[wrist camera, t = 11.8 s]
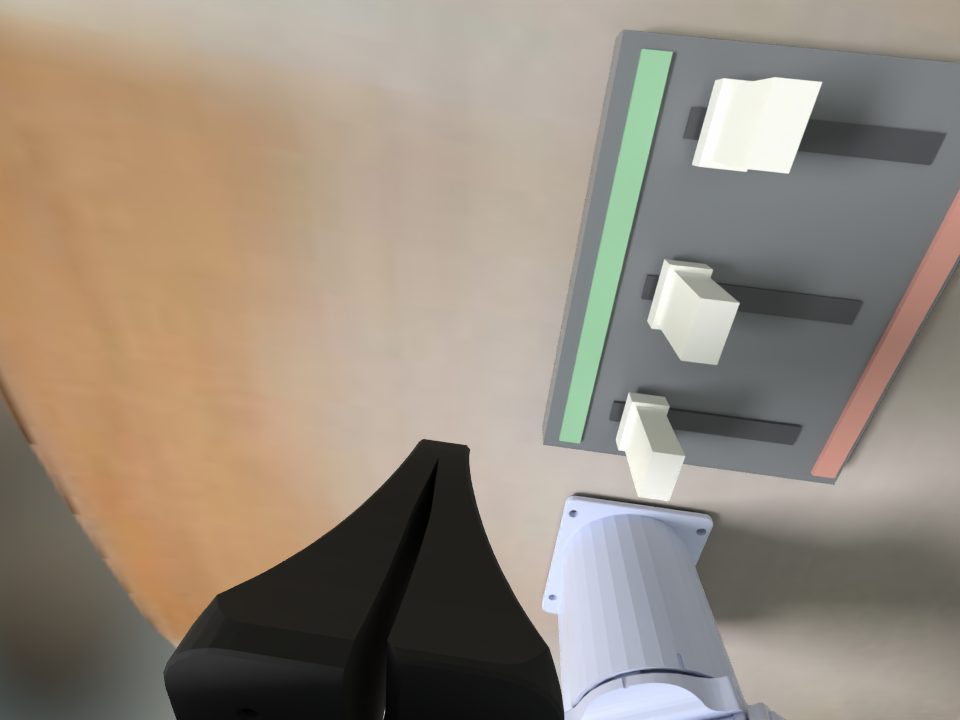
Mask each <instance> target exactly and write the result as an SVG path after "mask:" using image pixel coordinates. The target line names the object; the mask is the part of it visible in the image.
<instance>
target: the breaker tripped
mask: <svg viewBox="0 0 960 720" xmlns="http://www.w3.org/2000/svg"><path fill="white" fill-rule="evenodd" d="M712 272H713V269H712V268H710V267H709V266H708V265H707V264H702V263H693V262H685V261H676V260H668V259H664V262H663V265H662V269H661V273H660V276H659V280H658V284H657V287H656V291H655V294H654V298H653V302H652V305H651V309H650V313H649V316H648V320H647V322H648V324H649V325H650V327H651V329H659V330H662V332H663V333H664V335H665V337H666V338H667V340H668V341H669V343H670V344H671V346H672V348H673V349H674V351H675V352H676V354H677V355H678V357H679V359H680V360H681V361H688V362H696V363H704V364H712V365H717V364H718V361H719V359H720V356H721V353H722V350H723V348H724V345H725V342H726V339H727V337H728V334H729V331H730V328H731V326H732V323H733V320H734V317H735V315H736V312H737V309H738V306H739V304H740V303H739V302H738V301H737V300H736V299H734V298H733V297H732V296H731V295H730V294H729V293H727V292H726V291H725V290H724V289H723V288H722V287H720V286H719V285H718V284H717V283H716V282H715V281H713V280H712V279H711V275H712Z"/></svg>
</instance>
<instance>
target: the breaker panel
mask: <svg viewBox="0 0 960 720" xmlns="http://www.w3.org/2000/svg"><path fill="white" fill-rule="evenodd" d="M773 77H778V78H788V79H798V80H808V81H817V82H822V85H821V87H820V90H819V93H818V95H817V98H816V101H815V104H814V106H813V109H812V112H811V115H810V117H809V120H808V123H807V126H806V128H805V131H804V134H803V136H802V139H801V142H800V145H799V147H798V150H797V153H796V156H795V158H794V161H793V164H792V166H791V169H790V172H789V174H787V173H778V172H769V171H760V170H751V169H748V170H747V172H742V171H733V170H724V169H715V168H706V167H698V166H694V165H692V162H693V159H694V155H695V151H696V148H697V144H698V141H699V137H700V133H701V130H702V126H703V123H704V119H705V115H706V112H707V108H708V105H709V101H710V97H711V94H712V90H713V87H714V83H715V80H719V79H723V78H727V79H736V80H746V81H757V80H763V79H768V78H773ZM664 259H668V260H676V261H685V262H693V263H702V264H707V265H708V266H709V267H710V268H712V269H713V272H712V275H711V279H712V280H713V281H715V282H716V283H717V284H718V285H719V286H720V287H722V288H723V289H724V290H725V291H726V292H727V293H729V294H730V295H731V296H732V297H733V298H734V299H736V300H737V301H738V302H739V303H740V304H739V306H738V309H737V312H736V315H735V317H734V320H733V323H732V326H731V328H730V331H729V334H728V337H727V339H726V342H725V345H724V348H723V350H722V353H721V356H720V359H719V361H718V364H717V365H712V364H704V363H696V362H688V361H681V360H680V359H679V357H678V355H677V354H676V352H675V351H674V349H673V348H672V346H671V344H670V343H669V341H668V340H667V338H666V337H665V335H664V333H663V332H662V330H659V329H651V327H650V325H649V324H648V322H647V320H648V316H649V313H650V309H651V305H652V302H653V298H654V294H655V291H656V287H657V284H658V280H659V276H660V273H661V269H662V265H663V262H664ZM959 262H960V63H953V62H943V61H933V60H923V59H913V58H903V57H893V56H883V55H873V54H863V53H853V52H843V51H833V50H823V49H813V48H803V47H793V46H782V45H772V44H762V43H752V42H742V41H732V40H722V39H712V38H702V37H692V36H682V35H672V34H662V33H652V32H642V31H632V30H623V31H622V32H621V33H620V34H619V35H618V36H617V37H616V42H615V47H614V53H613V58H612V63H611V69H610V74H609V79H608V84H607V90H606V95H605V100H604V105H603V111H602V116H601V121H600V127H599V132H598V137H597V142H596V148H595V153H594V158H593V164H592V169H591V174H590V179H589V185H588V190H587V195H586V201H585V206H584V211H583V216H582V222H581V227H580V232H579V237H578V243H577V248H576V253H575V259H574V264H573V269H572V274H571V280H570V285H569V290H568V296H567V301H566V306H565V311H564V317H563V322H562V327H561V332H560V338H559V343H558V348H557V354H556V359H555V364H554V369H553V375H552V380H551V385H550V391H549V396H548V401H547V406H546V412H545V417H544V422H543V445H550V446H557V447H564V448H571V449H579V450H586V451H593V452H600V453H608V454H615V455H622V456H626V453H625V451H621V450H618V447H617V443H616V436H617V433H618V429H619V425H620V422H621V418H622V415H623V411H624V407H625V404H626V400H627V397H628V393H629V392H631V393H639V394H647V395H654V396H662V397H665V398H666V400H667V402H668V404H669V406H670V407H669V410H668V413H667V418H668V420H669V422H670V424H671V426H672V429H673V431H674V433H675V435H676V437H677V439H678V441H679V444H680V446H681V448H682V450H683V452H684V454H685V459H684V461H683V464H688V465H695V466H702V467H710V468H717V469H724V470H731V471H739V472H746V473H753V474H760V475H768V476H775V477H782V478H790V479H797V480H804V481H811V482H819V483H826V484H833V485H834V484H835V482H836V480H837V478H838V477H839V475H840V473H841V471H842V470H843V468H844V466H845V464H846V462H847V461H848V459H849V457H850V455H851V454H852V452H853V450H854V448H855V446H856V445H857V443H858V441H859V439H860V438H861V436H862V434H863V432H864V430H865V429H866V427H867V425H868V423H869V422H870V420H871V418H872V416H873V414H874V413H875V411H876V409H877V407H878V406H879V404H880V402H881V400H882V398H883V397H884V395H885V393H886V391H887V390H888V388H889V386H890V384H891V382H892V381H893V379H894V377H895V375H896V374H897V372H898V370H899V368H900V366H901V365H902V363H903V361H904V359H905V358H906V356H907V354H908V352H909V350H910V349H911V347H912V345H913V343H914V342H915V340H916V338H917V336H918V334H919V333H920V331H921V329H922V327H923V326H924V324H925V322H926V320H927V318H928V317H929V315H930V313H931V311H932V310H933V308H934V306H935V304H936V302H937V301H938V299H939V297H940V295H941V294H942V292H943V290H944V288H945V286H946V285H947V283H948V281H949V279H950V278H951V276H952V274H953V272H954V270H955V269H956V267H957V265H958V263H959Z"/></svg>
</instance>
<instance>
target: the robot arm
mask: <svg viewBox="0 0 960 720" xmlns="http://www.w3.org/2000/svg"><path fill="white" fill-rule="evenodd" d="M469 454H470V449H469V448H468V447H467V445H461V444H454V443H447V442H440V441H433V440H426V439H423V440H421V441H420V442H419V443H418V444H417V446H416V447H415V448H414V450H413V451H412V452H411V453H410V455H409V456H408V457H407V458H406V460H405V461H404V462H403V463H402V464H401V466H400V467H399V468H398V469H397V470H396V471H395V472H394V473H393V474H392V476H391V477H390V478H389V479H388V480H387V481H386V482H385V483H384V484H383V485H382V486H381V487H380V488H379V489H378V490H377V491H376V492H375V493H374V494H373V495H372V496H371V497H370V498H369V499H368V500H367V501H365V502H364V503H363V504H362V505H361V506H360V507H359V508H358V509H357V510H355V511H354V512H353V513H352V514H351V515H350V516H348V517H347V518H346V519H345V520H343V521H342V522H341V523H340V524H338V525H337V526H336V527H335V528H333V529H332V530H330V531H329V532H328V533H326V534H325V535H323V536H322V537H321V538H319V539H318V540H316V541H315V542H314V543H312V544H311V545H309V546H308V547H306V548H305V549H303V550H302V551H300V552H298V553H297V554H295V555H293V556H292V557H290V558H288V559H286V560H285V561H283V562H281V563H280V564H278V565H276V566H275V567H273V568H271V569H269V570H268V571H266V572H264V573H262V574H260V575H258V576H256V577H254V578H252V579H250V580H248V581H246V582H244V583H241V584H239V585H237V586H235V587H233V588H231V589H229V590H227V591H225V592H222V593H220V594H218V595H217V596H216V597H215V598H214V599H213V601H212V602H211V603H210V604H209V606H208V607H207V608H206V609H205V610H204V611H203V612H202V614H201V615H200V616H199V617H198V619H197V620H196V621H195V623H194V624H193V625H192V627H191V628H190V630H189V631H188V633H187V634H186V636H185V637H184V638H183V640H182V641H181V643H180V644H179V646H178V647H177V649H176V650H175V652H174V653H173V655H172V657H171V658H170V659H169V661H168V662H167V665H166V667H165V670H164V681H165V686H166V690H167V693H168V696H169V699H170V702H171V705H172V708H173V711H174V713H175V716H176V719H177V720H786V719H784V718H783V717H781V716H780V715H778V714H777V713H775V712H774V711H770V709H769V708H768V706H767V705H765V704H764V703H761V702H759V703H756V704H754V705H750V706H748V705H747V703H746V701H745V700H744V697H743V695H742V692H741V689H740V687H739V684H738V681H737V679H736V676H735V673H734V670H733V668H732V665H731V662H730V660H729V657H728V654H727V652H726V649H725V646H724V643H723V641H722V638H721V635H720V633H719V630H718V627H717V625H716V622H715V619H714V617H713V614H712V611H711V608H710V606H709V603H708V600H707V598H706V595H705V592H704V590H703V587H702V584H701V582H700V579H699V576H698V573H697V571H696V568H695V567H696V564H697V562H698V560H699V557H700V555H701V553H702V550H703V548H704V546H705V544H706V541H707V539H708V537H709V534H710V532H711V530H712V527H713V521H712V519H711V517H710V516H709V515H707V514H702V513H694V512H687V511H680V510H673V509H666V508H659V507H652V506H645V505H638V504H631V503H624V502H617V501H610V500H603V499H596V498H589V497H582V496H571V497H569V498H568V499H567V500H566V503H565V507H564V511H563V515H562V520H561V524H560V528H559V532H558V537H557V541H556V545H555V549H554V553H553V558H552V562H551V566H550V570H549V575H548V579H547V583H546V587H545V592H544V596H543V600H542V608H543V610H544V611H546V612H548V613H554V614H558V625H559V643H560V661H561V680H562V694H561V689H560V684H559V680H558V676H557V673H556V669H555V665H554V662H553V659H552V655H551V652H550V649H549V647H548V645H547V644H546V643H545V641H544V640H543V638H542V637H541V636H540V634H539V633H538V631H537V630H536V628H535V627H534V625H533V624H532V622H531V621H530V619H529V618H528V616H527V615H526V613H525V611H524V610H523V608H522V607H521V605H520V603H519V602H518V600H517V598H516V597H515V595H514V593H513V591H512V589H511V587H510V585H509V583H508V582H507V580H506V578H505V576H504V574H503V572H502V570H501V568H500V566H499V564H498V562H497V559H496V557H495V555H494V553H493V550H492V548H491V545H490V543H489V541H488V538H487V535H486V533H485V530H484V527H483V524H482V521H481V518H480V514H479V511H478V507H477V504H476V500H475V495H474V491H473V487H472V481H471V475H470V467H469ZM572 510H575V511H576V512H570V511H572ZM698 529H701V530H698ZM562 698H563V700H562ZM384 711H385V715H384ZM383 715H384V719H383Z"/></svg>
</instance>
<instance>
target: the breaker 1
mask: <svg viewBox="0 0 960 720" xmlns="http://www.w3.org/2000/svg"><path fill="white" fill-rule="evenodd" d="M669 407H670V406H669V404H668V402H667V400H666V398H665V397H662V396H654V395H647V394H639V393H631V392H629V393H628V397H627V400H626V404H625V407H624V411H623V415H622V418H621V422H620V425H619V429H618V433H617V436H616V443H617V447H618V450H621V451H625V453H626V457H627V460H628V464H629V467H630V471H631V474H632V478H633V481H634V484H635V488H636V491H637V495H638V497H643V498H650V499H657V500H664V501H669V500H670V497H671V494H672V491H673V489H674V486H675V483H676V481H677V478H678V475H679V472H680V470H681V467H682V464H683V461H684V459H685V454H684V452H683V450H682V448H681V446H680V444H679V441H678V439H677V437H676V435H675V433H674V431H673V429H672V426H671V424H670V422H669V420H668V418H667V413H668V410H669Z"/></svg>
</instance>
